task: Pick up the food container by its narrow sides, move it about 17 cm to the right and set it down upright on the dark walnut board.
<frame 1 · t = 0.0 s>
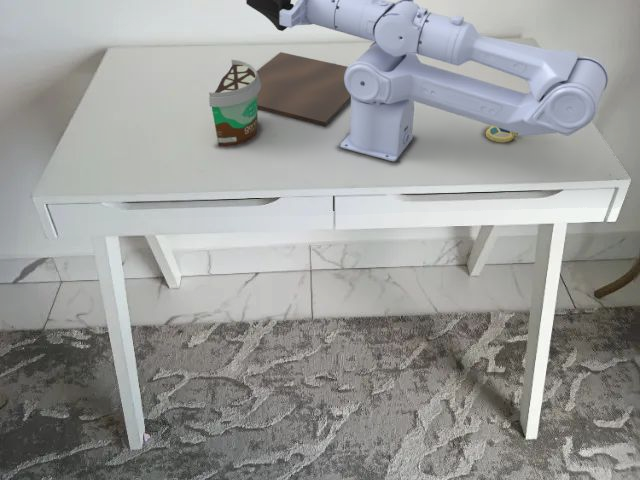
eyeshadow: (501, 136, 107), on the table
walnut board: (301, 88, 120), on the table
food container: (245, 133, 108), on the table
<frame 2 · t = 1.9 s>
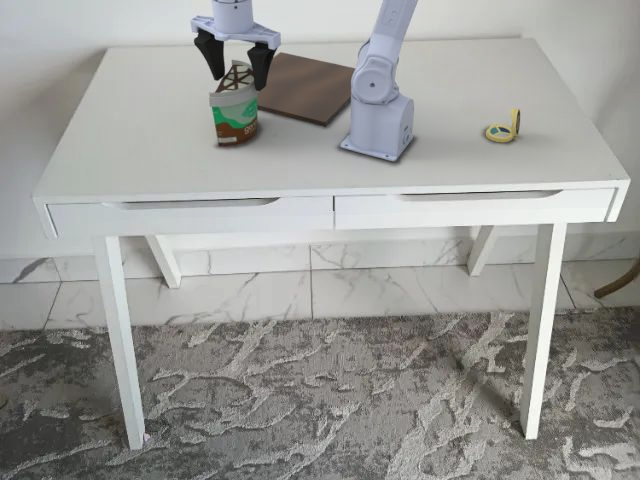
hand: (240, 83, 102), 9 cm above the table, tool pointing down, fingers open, 7 cm apart
food container: (245, 133, 108), on the table, touching gripper
everything else where it was.
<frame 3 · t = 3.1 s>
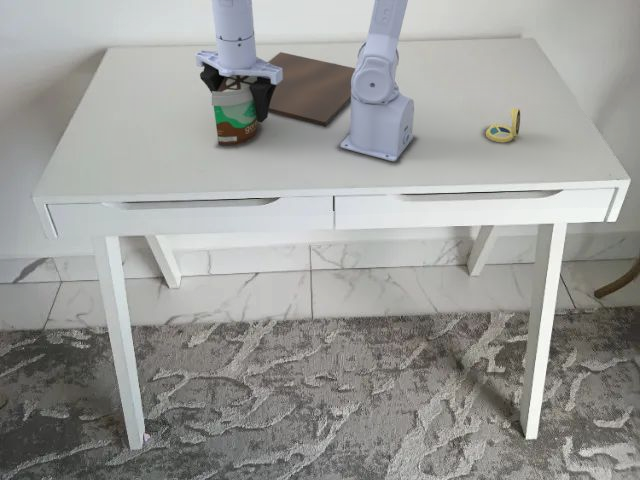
hand: (243, 114, 106), 3 cm above the table, tool pointing down, fingers closed on food container, 7 cm apart
food container: (245, 133, 108), on the table, touching gripper
everything else where it was.
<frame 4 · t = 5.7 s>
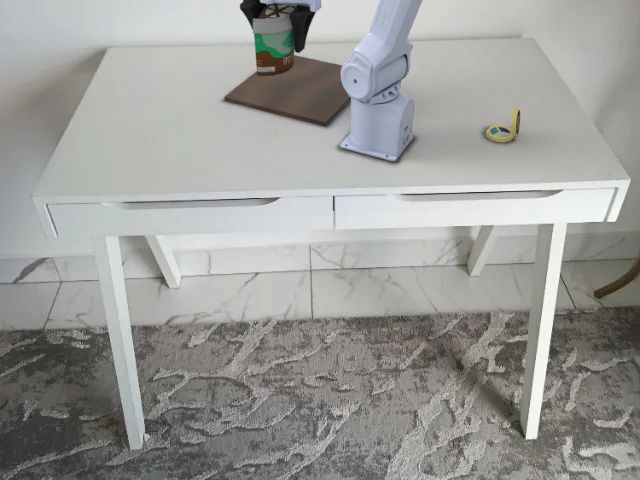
hand: (280, 46, 109), 10 cm above the table, tool pointing down, fingers closed on food container, 7 cm apart
food container: (281, 66, 111), point 7 cm above the table, touching gripper
everything else where it was.
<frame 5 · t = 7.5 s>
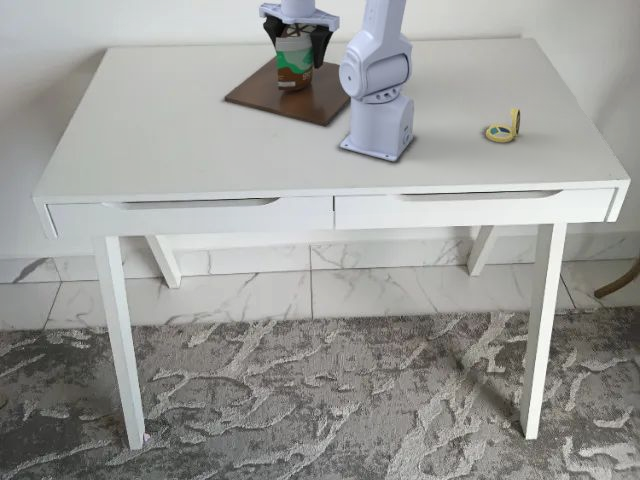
hand: (300, 62, 116), 5 cm above the table, tool pointing down, fingers closed on food container, 7 cm apart
food container: (301, 80, 119), point 1 cm above the table, touching gripper
everything else where it was.
when the fingers open (4 cm above the table, at t = 8.4 s): food container stays where it is, resting on walnut board.
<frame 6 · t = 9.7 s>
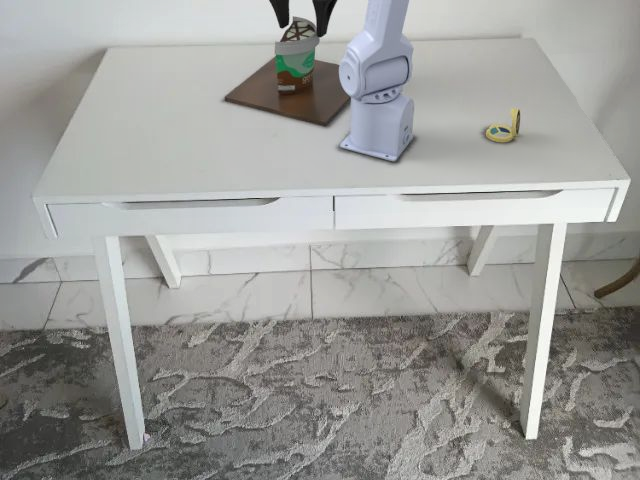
hand: (302, 30, 114), 10 cm above the table, tool pointing down, fingers open, 7 cm apart
food container: (301, 84, 119), point 1 cm above the table, touching gripper, walnut board
everything else where it was.
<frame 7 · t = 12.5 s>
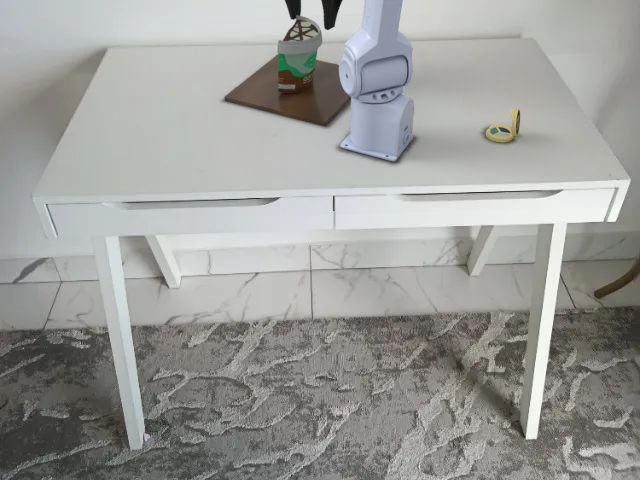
hand: (312, 22, 116), 10 cm above the table, tool pointing down, fingers open, 7 cm apart
nothing on the table moved.
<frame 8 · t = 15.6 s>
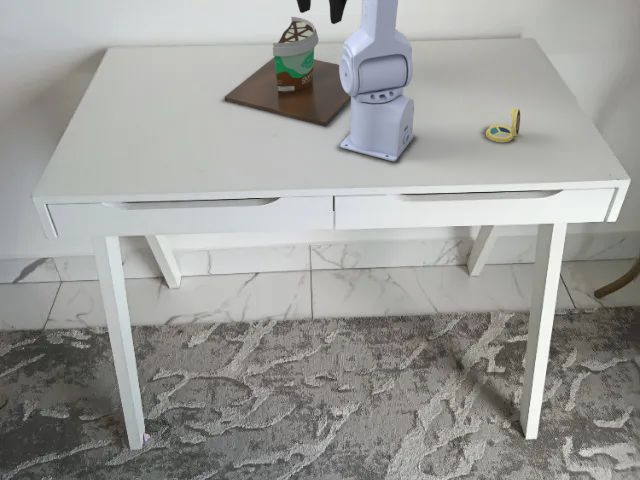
hand: (320, 16, 118), 10 cm above the table, tool pointing down, fingers open, 7 cm apart
food container: (301, 84, 119), point 1 cm above the table, touching walnut board
everything else where it was.
at the end: food container inside the target area on the walnut board (0.1 cm from its centre), point 0.6 cm above the walnut board's base; food container moved 17.6 cm from its start; food container tilted 0° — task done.
